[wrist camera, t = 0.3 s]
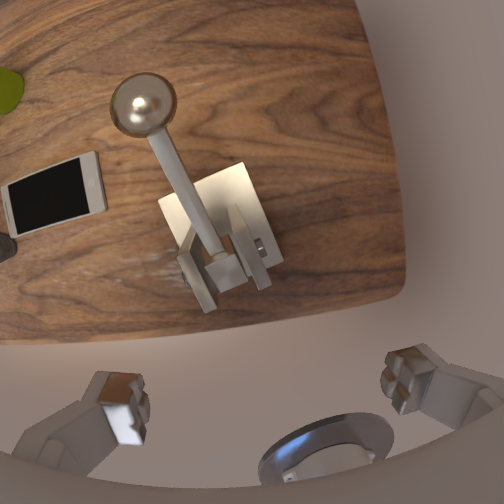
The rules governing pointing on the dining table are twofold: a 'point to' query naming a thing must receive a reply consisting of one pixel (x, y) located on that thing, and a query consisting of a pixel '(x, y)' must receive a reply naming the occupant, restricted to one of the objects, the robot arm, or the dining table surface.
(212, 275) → the lever
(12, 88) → the soap dispenser
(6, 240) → the flask
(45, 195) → the smartphone
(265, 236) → the metal pivot stand
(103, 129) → the dining table surface
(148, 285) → the dining table surface
